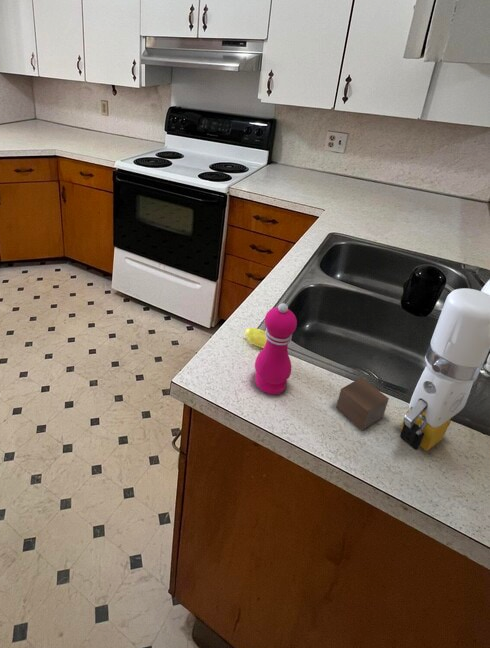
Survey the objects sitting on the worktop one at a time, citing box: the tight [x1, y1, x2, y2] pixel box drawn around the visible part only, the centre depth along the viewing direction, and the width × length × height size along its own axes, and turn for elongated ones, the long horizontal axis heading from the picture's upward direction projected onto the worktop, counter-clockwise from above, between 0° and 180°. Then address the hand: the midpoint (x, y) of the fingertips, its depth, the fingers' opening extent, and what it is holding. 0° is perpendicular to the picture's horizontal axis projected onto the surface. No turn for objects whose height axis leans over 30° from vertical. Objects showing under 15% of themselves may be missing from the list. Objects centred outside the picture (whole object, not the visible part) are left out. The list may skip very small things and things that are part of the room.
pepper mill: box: [254, 302, 298, 395], centre depth 84 cm, size 7×7×20 cm
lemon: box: [244, 327, 267, 349], centre depth 98 cm, size 4×8×4 cm, turn 46°
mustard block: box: [399, 409, 452, 452], centre depth 77 cm, size 5×5×5 cm
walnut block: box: [335, 377, 390, 431], centre depth 81 cm, size 6×6×5 cm
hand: (424, 431), depth 78 cm, fingers open, 8 cm apart
